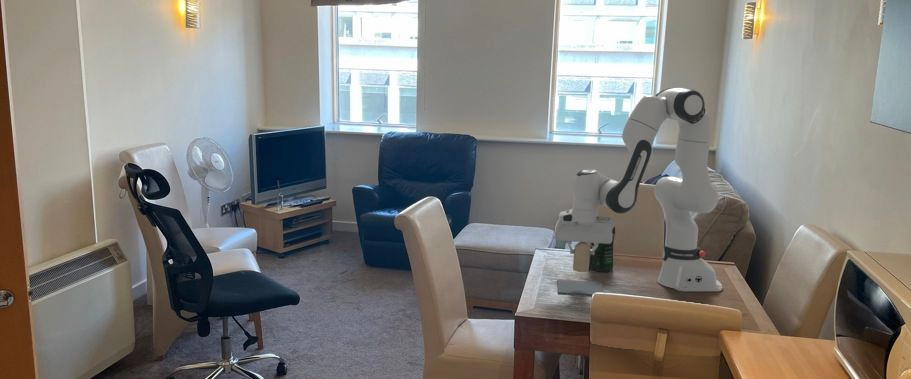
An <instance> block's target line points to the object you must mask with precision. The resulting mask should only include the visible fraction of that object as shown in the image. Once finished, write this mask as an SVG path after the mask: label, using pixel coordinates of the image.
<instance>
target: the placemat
mask: <svg viewBox="0 0 911 379" xmlns="http://www.w3.org/2000/svg"><path fill="white" fill-rule="evenodd" d="M556 281H557V283H556V284H557V294H558V295H571V296H572V295H573V296H584V295H587V296H588V297H593V296H592V294H593V293H595V292H604V293H605V290H604V286H603V282H601V281H586V280H585V281H584V280H569V279H568V280H567V279H557V280H556ZM587 296H586V297H587Z"/></svg>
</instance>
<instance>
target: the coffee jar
mask: <svg viewBox="0 0 911 379" xmlns="http://www.w3.org/2000/svg"><path fill="white" fill-rule="evenodd" d="M615 236H616V226H614V228H613V229H612V237H613V238H612V242H611V243H610V244H604V243H598V247H597V248H596V250H594V255H590V259H589V268H590V269H592V270H594V271H597V272H604V273H605V272H606V273H607V272H611V271H612V270H613V269H614V240H615ZM589 244H590V245H589V246H590V249H593V247H594V243H589Z"/></svg>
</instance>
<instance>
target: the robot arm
mask: <svg viewBox="0 0 911 379" xmlns="http://www.w3.org/2000/svg"><path fill="white" fill-rule="evenodd" d="M667 119H670V120H674V121H677V123H678V126H679V127H678V134H677V139H676V146H675V152H674V162H675V164H676V165H677V166H678V168H679V169H680V173H681V176H682V177H679V176H663V177H660V178H659V179H658V180H657V182H656V183H655V185H654V188H653V195H654V197H655V199H656V200H657V201H658V203H659V204H660V207H661V208H662V212H663V215H664V216H663V217H664V219H665V220H664V221H665V241H664V242H665V243H664V244H663V248H662V265H661V269H660V272H659V275H658V278H657V283H658V284H660V285H662V286H664V287H667V288H671V289H674V290H676V291H678V292H721V291H723V285H722V283H721V282H720V280H718V279H717V274H716V270H715V269H714V268H713V267H712V265H710V264H709V263H708V262H707V261H706V260H704V259H703V258H705V256H706V255H707V254H706V252H705V251H704V250H703V249H701V248H700V247H699V246H698V237H699V227H698V224H697V223H696V222H695V221H694V218H693V217H692V215H691V213H695V214H709V213H711V212H712V211H714V210H715V209H716V207H717V205H718V202H719V193H718V191H717V189H716V188H715V186H714V185H713V183H712V181H711V179H710V175H709V171H708V158H709V150H710V145H711V138H712V137H711V136H712V117H711V115H710V114H709V113H708V112H706V102H705V99H704V97H703V95H702V94H701V93H700V92H699V91H698V90H695V89H693V88H685V87H674V88H664V89H662V90H660V91H659V92H658V93H656V94H655V95H653V94H650V95H649V94H648V95H644V96H643V97H642V98H641V99H640V100H639V101H638V102H637V104H636V106H635V107H634V109H633V110H632V111H631V113H630V115H629V117H628V119H627V120H626V123H625V125H624V128H623V131H622V135H621V137H622V141H623V143H624V145H625V146H626V148H627V150H628V153H629V157H628V162H627V164H626V166H625V169H624V171H623V174H622V176H621V178H620V180H619V181H618V180H615V179H613V178H610V177H608V176H605V175H603V174H602V173H600V172H599V171H598V169H589V168H588V169H582V170H580V171H579V172H577V173H576V175H575V177H574V181H573V182H574V183H573V189H572V191H573V192H572V196H573V202H572V205H571V206H572V208H571V209H568V210H563V211H560V212H559V214H558V219H557V221H556V222H555V223H556V224H555V228H554V234H553V238H554V240H555V241H556V242H557V241H558V242H567V245H568V247H569V253H570V255H574V251H575V249H574V247H572V242H573V243H576V242H577V243H578V242H585V243H587V244H591V243H594V247H593V249H590V255H594V250H596V248H597V247H598V243H604V244H610V243H611V242H612V238H613V237H612V229H613V228H614V227H615V220H614V219H612V218H611V217H608V216H606V217H605V216H598V210H599V207H600V206H604V207H606V208H607V209H608V208H609V209H610V211H613V212H614V213H616V214H626V213H628V212H630V211H631V210H632V209H633V208H634V206H635V205H636V203H637V199H638V192H639V188H640V185H641V183H642V182H641V181H642V179H643V176H644V174H645V172H646V169H647V166H648V164H649V161H650V158H651V154H652V147H653V144H654V141H655V138H656V137H657V135H658V132H659V130H660V128H661V126H662V124H663V123H664V122H665V121H666V120H667Z"/></svg>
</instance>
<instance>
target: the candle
mask: <svg viewBox="0 0 911 379" xmlns="http://www.w3.org/2000/svg"><path fill="white" fill-rule="evenodd" d="M573 248H574V249H575V251H574V254H573V259H572V260H573V263H572V271H575V272H578V273H586V272H589V268H590V267H589V259H590V245H589V243H587V242H577V243H576V244H575V245H574V247H573Z"/></svg>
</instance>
